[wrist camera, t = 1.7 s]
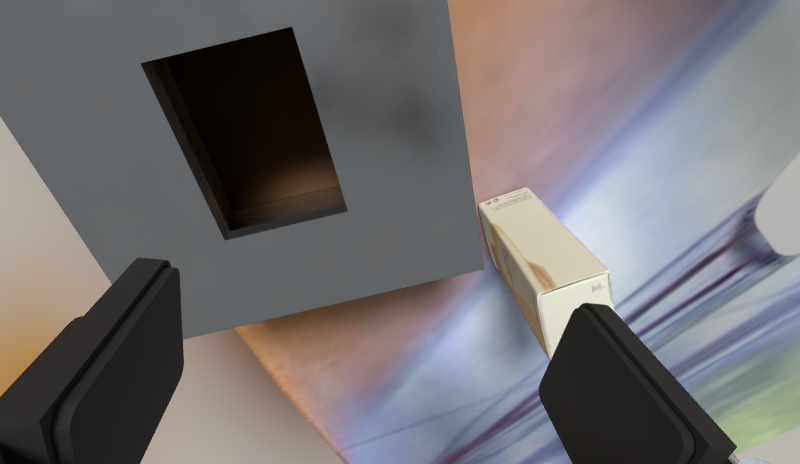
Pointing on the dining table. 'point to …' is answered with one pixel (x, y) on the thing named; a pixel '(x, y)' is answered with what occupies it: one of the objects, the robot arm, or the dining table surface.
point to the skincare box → (542, 264)
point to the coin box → (194, 173)
